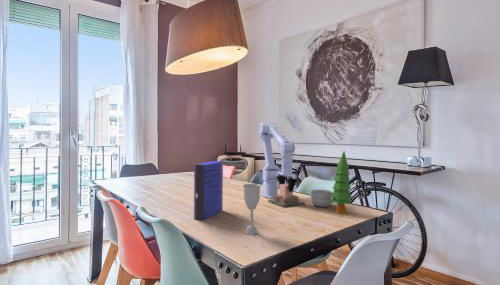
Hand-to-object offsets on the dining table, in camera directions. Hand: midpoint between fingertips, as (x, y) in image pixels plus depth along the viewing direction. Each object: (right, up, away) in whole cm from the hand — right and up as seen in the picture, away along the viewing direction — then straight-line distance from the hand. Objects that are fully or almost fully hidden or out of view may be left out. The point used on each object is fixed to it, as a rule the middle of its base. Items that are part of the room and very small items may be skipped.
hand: (286, 190), depth 161 cm
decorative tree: (+24, -8, -17) cm, 30 cm away
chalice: (-19, -9, -47) cm, 51 cm away
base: (0, -7, 0) cm, 7 cm away
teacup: (+19, -8, -5) cm, 21 cm away
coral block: (0, -3, 0) cm, 3 cm away
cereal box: (-38, -8, -23) cm, 46 cm away
